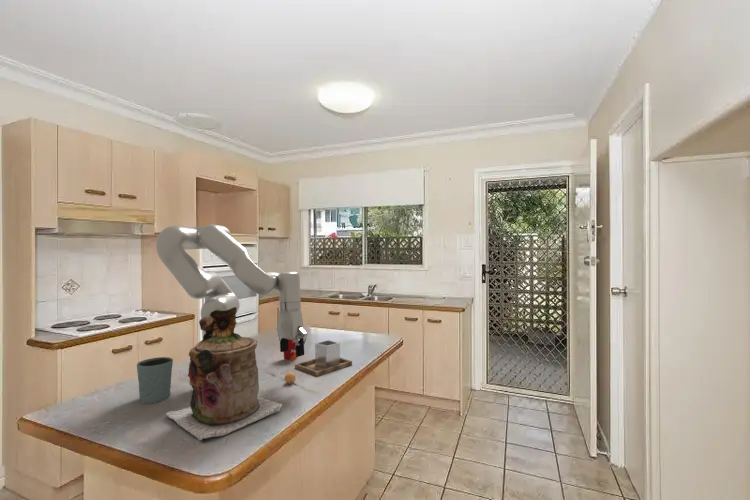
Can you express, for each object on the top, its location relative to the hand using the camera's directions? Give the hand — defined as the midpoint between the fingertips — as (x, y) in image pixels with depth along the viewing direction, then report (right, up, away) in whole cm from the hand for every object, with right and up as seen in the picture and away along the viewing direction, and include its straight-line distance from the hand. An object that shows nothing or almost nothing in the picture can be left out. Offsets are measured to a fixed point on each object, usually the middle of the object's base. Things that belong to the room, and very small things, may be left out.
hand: (292, 353), depth 133 cm
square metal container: (+11, -10, +17) cm, 22 cm away
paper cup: (-7, -11, +27) cm, 30 cm away
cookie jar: (-14, -11, -25) cm, 30 cm away
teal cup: (-42, -11, -12) cm, 45 cm away
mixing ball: (-1, -11, 0) cm, 11 cm away
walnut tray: (+9, -11, +15) cm, 21 cm away
